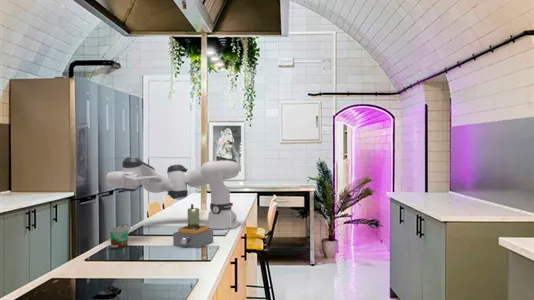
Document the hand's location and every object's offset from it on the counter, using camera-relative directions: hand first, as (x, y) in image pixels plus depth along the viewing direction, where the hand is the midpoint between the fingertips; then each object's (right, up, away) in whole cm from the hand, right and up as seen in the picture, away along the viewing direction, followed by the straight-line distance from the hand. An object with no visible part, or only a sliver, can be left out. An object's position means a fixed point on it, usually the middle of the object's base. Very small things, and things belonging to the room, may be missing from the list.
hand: (155, 181), depth 227 cm
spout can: (+21, -24, -8) cm, 33 cm away
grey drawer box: (+20, -30, -9) cm, 37 cm away
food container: (-12, -30, -14) cm, 36 cm away
